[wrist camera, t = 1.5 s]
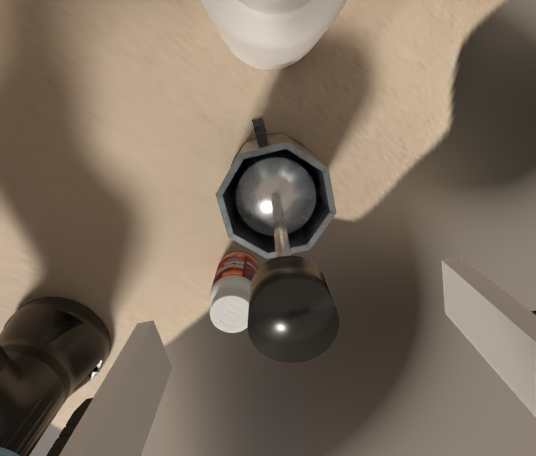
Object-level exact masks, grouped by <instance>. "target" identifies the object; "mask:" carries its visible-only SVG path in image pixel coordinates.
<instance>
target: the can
mask: <svg viewBox="0 0 536 456" xmlns="http://www.w3.org/2000/svg"><path fill="white" fill-rule="evenodd" d="M200 1H201V4H202V6H203V8H204V9H205V11H206V13H207V14H208V16H209V18H210V19H211V21H212V23H213V24H214V26H215V28H216V29H217V31H218V33H219V34H220V36H221V38H222V39H223V41H224V42H225V43H226V45H227V46H228V47H229V49H230V50H231V51H232V53H233V54H234V55H235V56H236V57H238V58H239V59H241V60H242V61H243V62H245V63H246V64H248V65H250V66H253V67H256V68H260V69H263V70H273V69H282V68H285V67H287V66H290V65H292V64H294V63H297V62H298V61H299V60H300V59H301V58H302V57H304V56H305V55H306V54H307V53H308V52H309V51H310V50H311V49H312V48H313V47H314V45H315V44H316V43H317V42H318V40H319V39H320V38H321V37H322V36H323V34H324V33H325V32H326V31H327V29H328V28H329V27H330V26H331V24H332V23H333V22H334V20H335V19H336V17H337V16H338V14H339V12H340V11H341V9H342V8H343V6H344V4H345V3H346V1H347V0H200Z"/></svg>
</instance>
